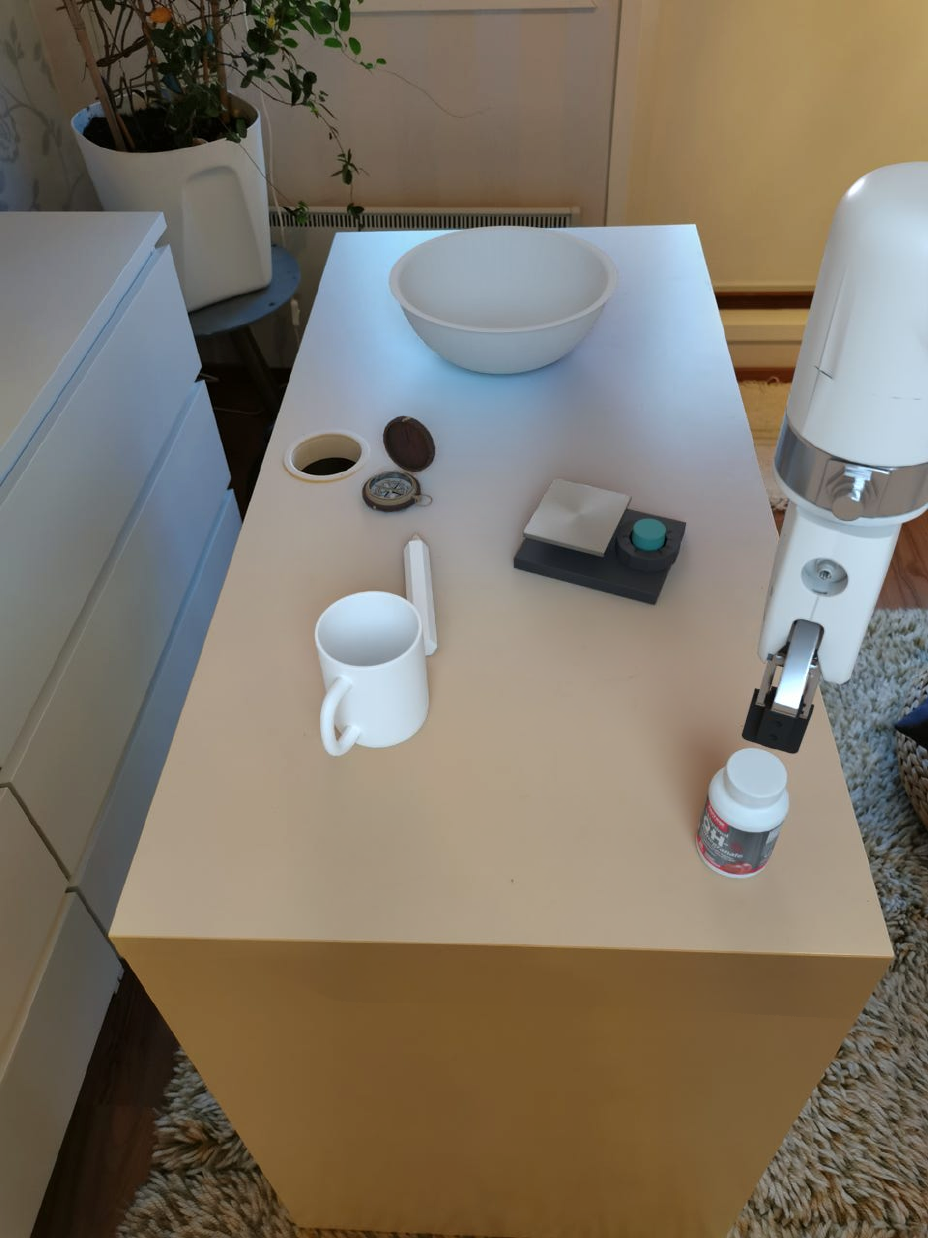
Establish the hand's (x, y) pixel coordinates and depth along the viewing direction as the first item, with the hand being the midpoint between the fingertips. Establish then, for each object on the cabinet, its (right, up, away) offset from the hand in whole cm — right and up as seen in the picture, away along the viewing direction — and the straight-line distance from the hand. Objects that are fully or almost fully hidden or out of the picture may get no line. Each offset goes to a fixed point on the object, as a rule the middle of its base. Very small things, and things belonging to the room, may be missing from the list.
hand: (782, 693), depth 57 cm
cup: (-27, -5, +22) cm, 35 cm away
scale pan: (-8, +14, +35) cm, 38 cm away
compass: (-26, +18, +43) cm, 53 cm away
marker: (-23, +7, +33) cm, 41 cm away
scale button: (-2, +12, +33) cm, 35 cm away
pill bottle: (+1, -13, +13) cm, 18 cm away
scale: (-6, +11, +36) cm, 38 cm away
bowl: (-14, +38, +63) cm, 75 cm away
